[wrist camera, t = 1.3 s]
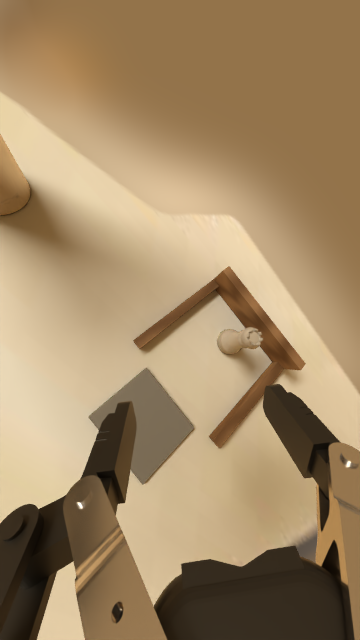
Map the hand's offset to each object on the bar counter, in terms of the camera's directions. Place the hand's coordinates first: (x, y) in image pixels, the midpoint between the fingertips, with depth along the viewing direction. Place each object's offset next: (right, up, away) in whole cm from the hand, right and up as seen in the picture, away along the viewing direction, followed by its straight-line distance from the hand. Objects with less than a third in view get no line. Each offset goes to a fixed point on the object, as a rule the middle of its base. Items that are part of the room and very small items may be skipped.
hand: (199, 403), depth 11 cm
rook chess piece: (+7, +1, +23) cm, 24 cm away
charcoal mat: (-6, -10, +16) cm, 20 cm away
